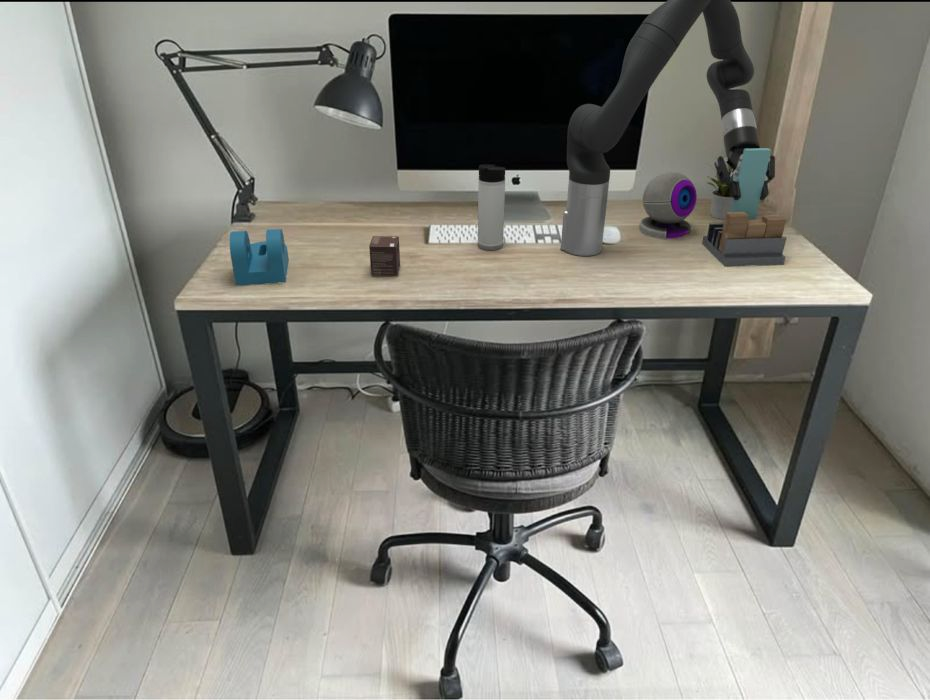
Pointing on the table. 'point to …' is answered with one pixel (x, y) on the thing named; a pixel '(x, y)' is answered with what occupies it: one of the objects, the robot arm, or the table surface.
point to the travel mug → (491, 206)
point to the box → (384, 256)
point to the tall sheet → (751, 180)
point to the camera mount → (259, 258)
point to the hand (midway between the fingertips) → (750, 198)
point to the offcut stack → (751, 227)
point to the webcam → (668, 205)
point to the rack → (744, 248)
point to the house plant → (721, 197)
